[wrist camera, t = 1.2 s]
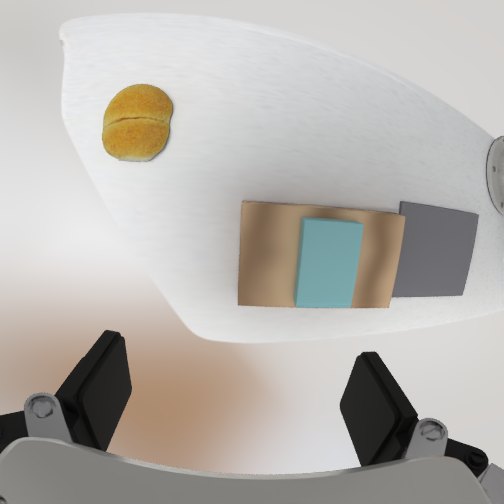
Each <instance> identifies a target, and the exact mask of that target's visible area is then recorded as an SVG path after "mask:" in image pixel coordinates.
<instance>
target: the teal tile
mask: <svg viewBox="0 0 504 504" xmlns="http://www.w3.org/2000/svg"><path fill="white" fill-rule="evenodd" d="M363 226H364V224H362V223H360V222H358V221H352V220H340V219H327V218H314V217H301V228H300V239H299V250H298V260H297V270H296V280H295V289H294V298H293V300H294V303H295V306H296V307H303V308H351V303H352V297H353V292H354V286H355V281H356V275H357V269H358V263H359V256H360V249H361V242H362V234H363Z"/></svg>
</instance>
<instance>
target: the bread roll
mask: <svg viewBox="0 0 504 504" xmlns="http://www.w3.org/2000/svg"><path fill="white" fill-rule="evenodd" d="M171 114H172V102H171V100H170V99H169V97H168V96H167V95H166V94H165V93H164V92H163V91H162V90H160V89H159V88H157V87H154V86H152V85H148V84H136V85H132V86H129V87H127V88H125V89H123V90H122V91H120V92H119V93H118V94H117V95H116V96H115V97H114V98H113V99H112V101H111V102H110V104H109V105H108V107H107V109H106V111H105V114H104V121H103V133H102V141H103V145H104V148H105V150H106V152H107V153H108V154H110V155H111V156H113V157H115V158H116V159H118V160H122V161H136V162H140V161H150V160H151V159H152V158H153V157H154V156H155V155H156V154H158V153H159V152H160V151H161V149H162V148H163V147H164V145H165V143H166V141H167V138H168V135H169V122H170V117H171Z"/></svg>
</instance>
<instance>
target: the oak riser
mask: <svg viewBox="0 0 504 504" xmlns="http://www.w3.org/2000/svg"><path fill="white" fill-rule="evenodd" d="M301 217H314V218H327V219H340V220H352V221H358V222H360V223H362V224H364V226H363V234H362V242H361V249H360V256H359V263H358V269H357V275H356V281H355V286H354V292H353V297H352V303H351V308H389V304H390V300H391V296H392V291H393V287H394V282H395V277H396V272H397V267H398V262H399V256H400V251H401V245H402V238H403V232H404V224H405V216H402V215H399V214H396V213H388V212H379V211H370V210H360V209H350V208H340V207H328V206H316V205H303V204H289V203H274V202H256V201H242V212H241V234H240V258H239V283H238V305H243V306H265V307H296V306H295V303H294V300H293V298H294V289H295V280H296V270H297V260H298V250H299V239H300V228H301ZM296 308H303V307H296Z"/></svg>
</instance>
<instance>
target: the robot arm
mask: <svg viewBox="0 0 504 504" xmlns="http://www.w3.org/2000/svg"><path fill="white" fill-rule="evenodd" d="M487 181H488V187H489V192H490V195H491V198H492V201H493V203H494V205H495V207H496V208H497V210H498V211H499V212H500V213H501V214H502V215H504V136H501V137H499V138H497V139H496V140H495V141H494V143H493V144H492V146H491V149H490V152H489V155H488V161H487ZM131 390H132V386H131V380H130V374H129V367H128V361H127V354H126V346H125V339H124V337H122V336H121V335H120V333H119V332H115V331H109V330H106V331H104V332H103V334H102V335H101V336H100V338H99V339H98V340H97V341H96V343H95V344H94V345H93V347H92V348H91V349H90V350H89V352H88V353H87V354H86V356H85V357H83V358H82V359H81V360H80V361H79V363H78V364H77V365H76V367H75V368H74V369H73V371H72V372H71V373H70V375H69V376H68V377H67V379H66V380H65V381H64V383H63V384H62V385H61V387H60V388H59V390H58V391H57V392H56V394H55V395H52V394H49V393H37V394H33V395H32V396H30V397H29V398H28V399H27V400H26V402H25V404H24V411H20V412H15V413H10V414H5V415H0V504H504V470H503V469H501V468H500V467H498V466H496V465H495V464H493V463H491V465H488V457H487V456H486V454H485V453H484V452H483V451H482V450H480V449H478V448H475V447H473V446H470V445H467V444H463V443H461V442H458V441H455V440H452V439H449V438H448V430H447V428H446V426H445V425H444V424H443V423H442V422H440V421H438V420H436V419H433V418H425V419H422V420H420V421H419V419H418V418H417V416H418V414H417V413H416V411H415V409H414V408H413V406H412V405H411V403H410V402H409V400H408V399H407V397H406V396H405V394H404V392H403V391H402V390H401V388H400V386H399V385H398V383H397V382H396V380H395V379H394V377H393V376H392V375H391V373H390V372H389V370H388V368H387V367H386V365H385V364H384V362H383V361H382V360H381V358H380V357H379V355H378V354H377V353H376V352H363V353H361V355H359V356H358V357H357V358H356V361H355V364H354V367H353V370H352V372H351V375H350V378H349V381H348V383H347V386H346V388H345V391H344V394H343V396H342V399H341V402H340V410H341V413H342V415H343V418H344V421H345V423H346V426H347V429H348V431H349V434H350V437H351V440H352V442H353V445H354V448H355V451H356V453H357V456H358V459H359V462H360V464H361V467H357V468H350V469H343V470H336V471H327V472H316V473H303V474H279V475H253V474H251V475H250V474H229V473H217V472H207V471H197V470H190V469H183V468H176V467H170V466H164V465H159V464H154V463H149V462H144V461H140V460H136V459H131V458H127V457H123V456H119V455H115V454H111V453H108V452H106V450H107V448H108V446H109V443H110V441H111V438H112V436H113V434H114V431H115V429H116V427H117V424H118V422H119V419H120V417H121V415H122V413H123V411H124V408H125V406H126V404H127V402H128V399H129V397H130V395H131Z"/></svg>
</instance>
